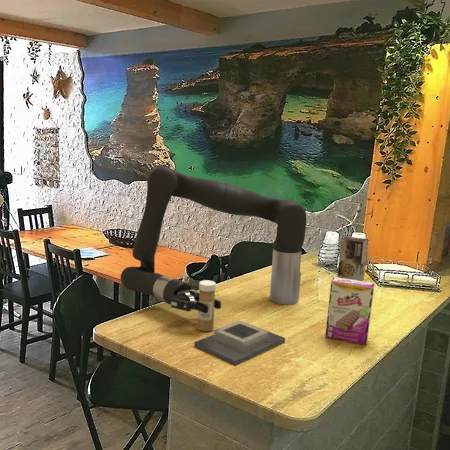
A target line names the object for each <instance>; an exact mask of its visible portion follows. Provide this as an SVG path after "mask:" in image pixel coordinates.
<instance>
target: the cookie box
mask: <svg viewBox="0 0 450 450" xmlns="http://www.w3.org/2000/svg"><path fill="white" fill-rule="evenodd" d="M368 241H369V239H367V238H361V237H354V236H348V235H345V236H343V237H341V238H340V242H339V243H340V246H339V256H338V258H339V259H338V269H337V277H339V278H345V279H351V280H358V281H364V280H365V274H366V273H365V272H366V271H365V270H366V261H367V252H368V243H369V242H368Z"/></svg>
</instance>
